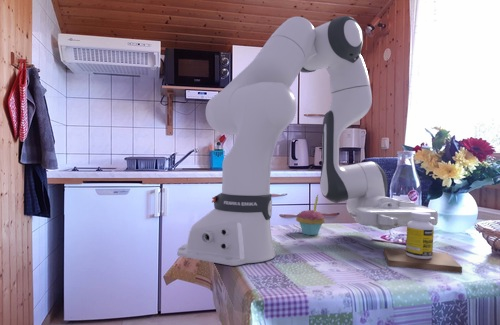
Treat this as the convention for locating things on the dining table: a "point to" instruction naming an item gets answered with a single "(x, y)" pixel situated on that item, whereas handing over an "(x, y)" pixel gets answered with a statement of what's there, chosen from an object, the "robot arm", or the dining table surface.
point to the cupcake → (310, 220)
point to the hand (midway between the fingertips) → (414, 222)
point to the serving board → (422, 261)
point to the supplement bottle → (420, 236)
